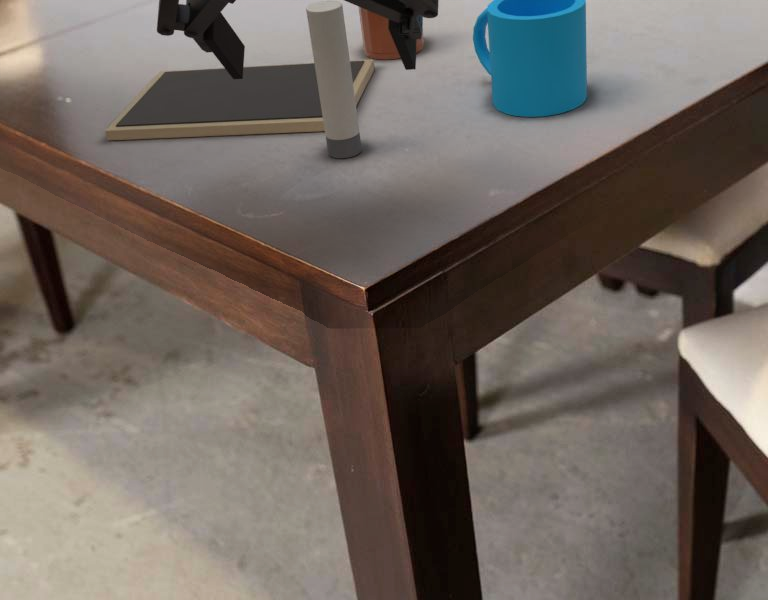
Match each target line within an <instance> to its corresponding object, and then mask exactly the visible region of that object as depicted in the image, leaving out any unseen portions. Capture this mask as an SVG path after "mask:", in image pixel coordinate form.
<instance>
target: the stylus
mask: <svg viewBox="0 0 768 600" xmlns="http://www.w3.org/2000/svg"><path fill="white" fill-rule="evenodd" d="M305 13H306V19H307V25H308V31H309V37H310V43H311V50H312V56H313V63H314V64H315V70H316V77H317V83H318V90H319V96H320V103H321V109H322V116H323V122H324V129H325V131H324V133H325V134H324V136H325V141H326V142H325V143H326V147H327V148H326V149H327V154H328V156H329V157H331V158H334V159H350V158H353V157H356V156H358V155H359V154H360V153H361V152H362V150H363V147H362V142H361V141H362V139H361V132H360V124H359V117H358V110H357V105H356V102H355V95H354V87H353V80H352V73H351V65H350V61H351V59H350V52H349V44H348V36H347V29H346V21H345V14H344V13H345V12H344V6H343V3H342V2H341V1H339V0H321V1H316V2H313V3H311V4H309V5H307V6H306V8H305Z"/></svg>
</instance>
